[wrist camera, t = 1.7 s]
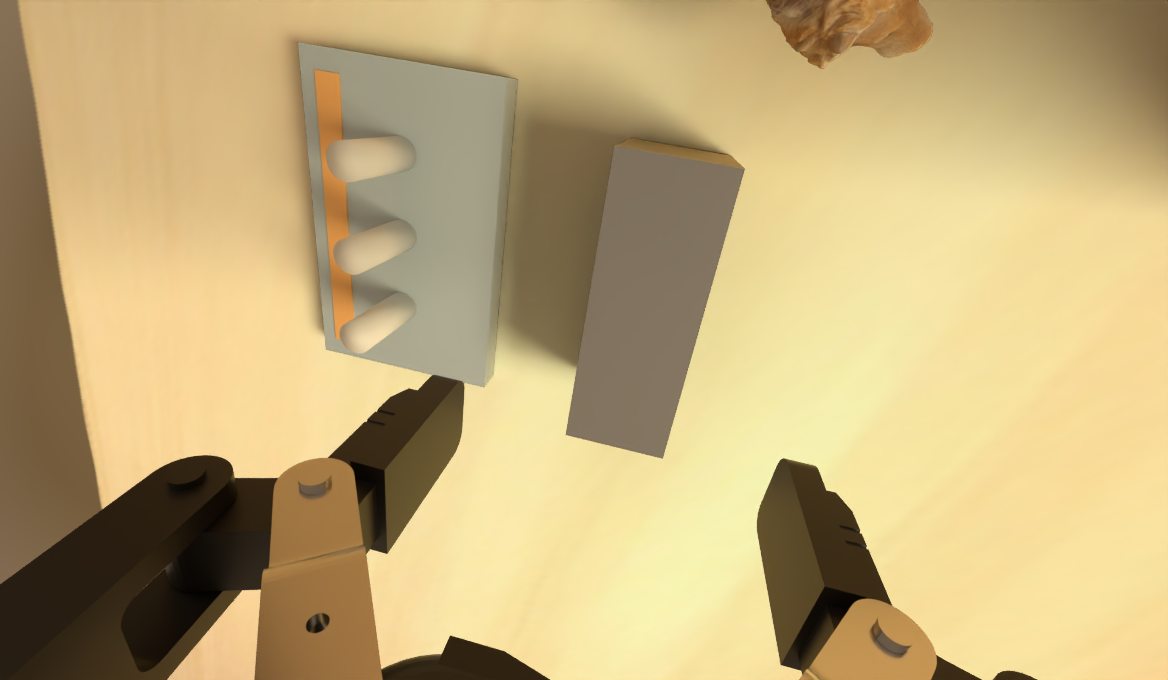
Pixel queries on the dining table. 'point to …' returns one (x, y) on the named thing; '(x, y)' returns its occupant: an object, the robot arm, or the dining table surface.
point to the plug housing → (649, 290)
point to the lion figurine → (851, 26)
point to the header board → (408, 207)
